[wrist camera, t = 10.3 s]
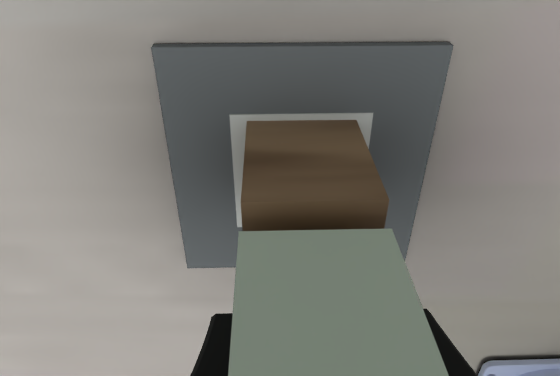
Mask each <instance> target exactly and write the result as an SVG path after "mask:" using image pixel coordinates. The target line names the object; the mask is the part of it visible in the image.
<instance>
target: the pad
mask: <svg viewBox="0 0 560 376" xmlns="http://www.w3.org/2000/svg"><path fill="white" fill-rule="evenodd" d="M151 49H152V55H153V61H154V67H155V73H156V79H157V86H158V92H159V98H160V104H161V110H162V116H163V122H164V128H165V134H166V140H167V146H168V152H169V159H170V165H171V171H172V177H173V183H174V189H175V195H176V201H177V207H178V213H179V219H180V225H181V232H182V238H183V244H184V250H185V256H186V262H187V268H221V267H236V262H237V248H238V235H239V231H242V216H241V191H242V178H243V164H244V151H245V137H246V124H247V121H284V120H357V122H358V125H359V127H360V130H361V132H362V134H363V137H364V139H365V142H366V144H367V147H368V149H369V151H370V154H371V156H372V159H373V161H374V164H375V166H376V168H377V171H378V173H379V176H380V178H381V181H382V183H383V186H384V188H385V190H386V193H387V195H388V198H389V205H388V211H387V216H386V222H385V227H384V229H392V230H393V233H394V235H395V238H396V241H397V243H398V246H399V248H400V251H401V254H402V256H403V259H404V261H405V258H406V254H407V250H408V245H409V241H410V236H411V232H412V227H413V223H414V218H415V214H416V210H417V205H418V201H419V196H420V192H421V187H422V183H423V178H424V174H425V170H426V165H427V161H428V156H429V152H430V147H431V143H432V138H433V134H434V130H435V125H436V121H437V116H438V112H439V107H440V103H441V99H442V94H443V90H444V85H445V81H446V76H447V72H448V67H449V63H450V59H451V54H452V50H453V44H451V43H450V42H359V43H218V44H153V46H152V47H151Z"/></svg>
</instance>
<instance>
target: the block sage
mask: <svg viewBox="0 0 560 376" xmlns="http://www.w3.org/2000/svg"><path fill="white" fill-rule="evenodd" d="M228 376H449V375H448V372H447V370H446V367H445V365H444V362H443V360H442V357H441V354H440V352H439V349H438V347H437V344H436V341H435V339H434V336H433V334H432V331H431V328H430V326H429V323H428V321H427V318H426V316H425V313H424V310H423V308H422V305H421V303H420V300H419V297H418V295H417V292H416V290H415V287H414V285H413V282H412V279H411V277H410V274H409V272H408V269H407V266H406V264H405V261H404V259H403V256H402V254H401V251H400V248H399V246H398V243H397V241H396V238H395V235H394V233H393V230H392V229H339V230H284V231H239V235H238V248H237V262H236V275H235V289H234V302H233V316H232V329H231V343H230V356H229V370H228Z"/></svg>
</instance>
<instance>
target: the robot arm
mask: <svg viewBox="0 0 560 376" xmlns="http://www.w3.org/2000/svg"><path fill="white" fill-rule="evenodd" d="M423 310H424V313H425V316H426V318H427V321H428V323H429V326H430V328H431V331H432V334H433V336H434V339H435V341H436V344H437V347H438V349H439V352H440V354H441V357H442V360H443V362H444V365H445V367H446V370H447V372H448V375H449V376H477V374H476V373H475V372H474V371H473V369H472V368H471V367H470V366H469V364H468V363H467V362H466V360H465V359H464V358H463V356H462V355H461V354H460V353H459V351H458V350H457V349H456V347H455V346H454V345H453V343H452V342H451V341H450V339H449V338H448V337H447V335H446V334H445V333H444V331H443V330H442V328H441V327H440V326H439V324H438V323H437V322H436V320H435V319H434V317H433V316H432V315H431V313H430V312H429V311H428V310H427V309H423ZM232 316H233V313H231V314H215V315H214V316H212V317H211V321H210V325H209V328H208V331H207V335H206V338H205V340H204V343H203V346H202V349H201V351H200V354H199V356H198V359H197V361H196V364H195V366H194V369H193V371H192V373H191V376H228V370H229V356H230V343H231V329H232ZM478 376H560V359H528V360H492V361H488V362H485V363H484V364H483V365H482V367H481V370H480V372H479V374H478Z"/></svg>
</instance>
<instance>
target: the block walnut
mask: <svg viewBox="0 0 560 376" xmlns="http://www.w3.org/2000/svg"><path fill="white" fill-rule="evenodd" d="M388 205H389V198H388V195H387V193H386V190H385V188H384V186H383V183H382V181H381V178H380V176H379V173H378V171H377V168H376V166H375V164H374V161H373V159H372V156H371V154H370V151H369V149H368V147H367V144H366V142H365V139H364V137H363V134H362V132H361V130H360V127H359V125H358V122H357V120H284V121H247V124H246V137H245V151H244V164H243V178H242V191H241V216H242V231H284V230H339V229H384V227H385V222H386V216H387V211H388Z"/></svg>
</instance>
